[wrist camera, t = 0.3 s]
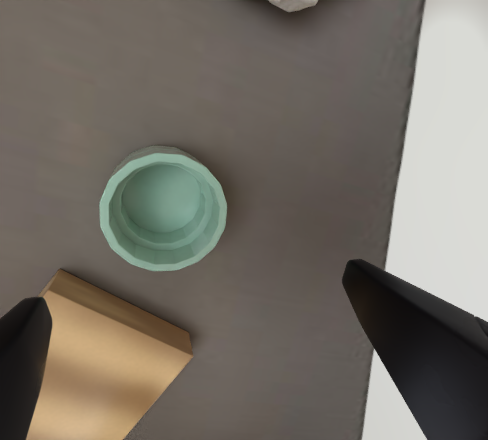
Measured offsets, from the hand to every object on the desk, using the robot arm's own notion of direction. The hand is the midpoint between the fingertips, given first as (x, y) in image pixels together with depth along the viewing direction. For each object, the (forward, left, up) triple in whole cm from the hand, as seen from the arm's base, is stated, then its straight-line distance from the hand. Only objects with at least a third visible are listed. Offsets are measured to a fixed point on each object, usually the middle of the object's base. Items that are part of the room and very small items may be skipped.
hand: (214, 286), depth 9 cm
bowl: (-1, 0, -15) cm, 15 cm away
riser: (-15, -6, -15) cm, 22 cm away
